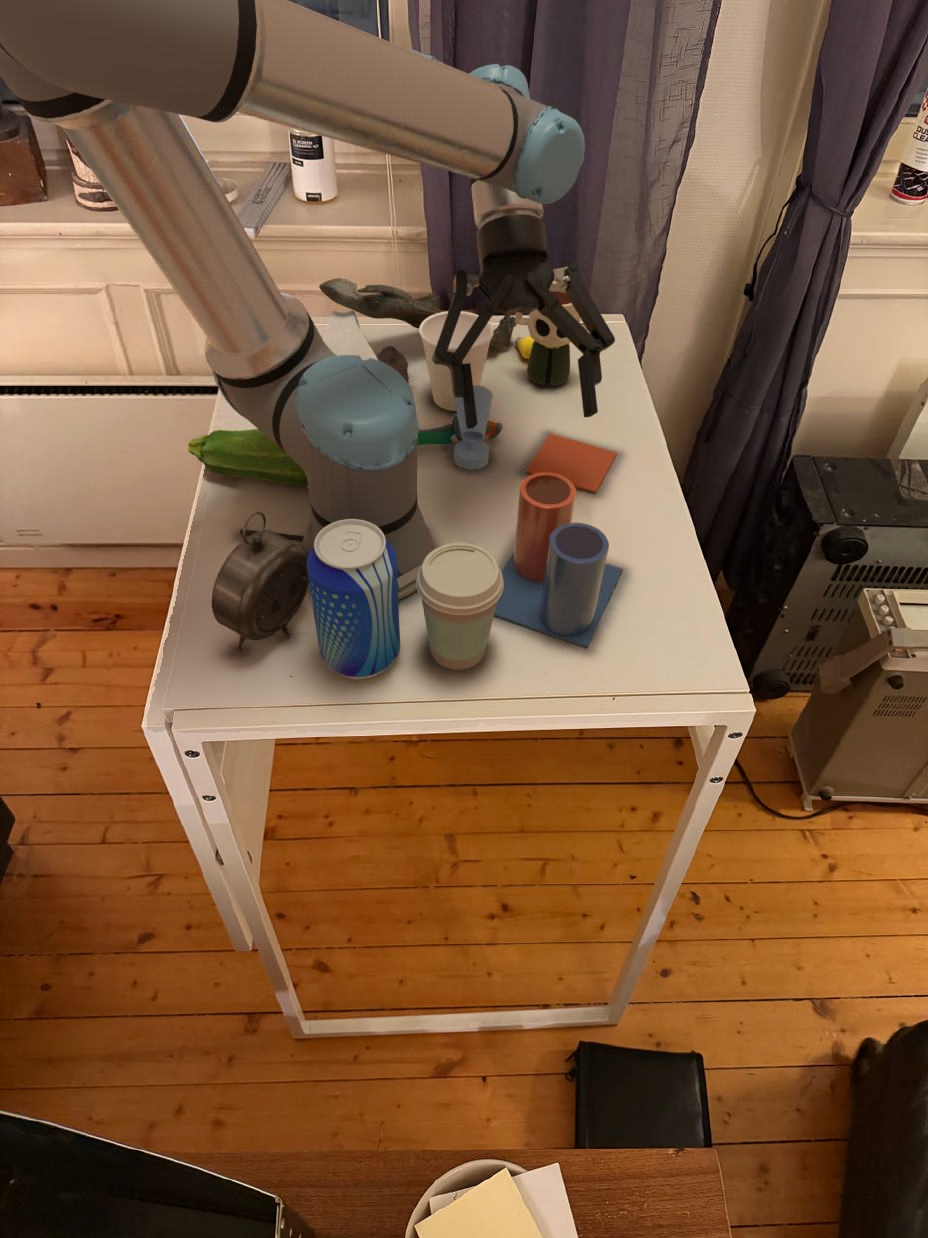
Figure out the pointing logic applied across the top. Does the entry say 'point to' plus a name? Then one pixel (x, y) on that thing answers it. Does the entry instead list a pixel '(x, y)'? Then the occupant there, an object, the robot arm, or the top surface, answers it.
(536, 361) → the character mug
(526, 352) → the light bulb
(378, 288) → the statue
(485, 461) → the spotlight
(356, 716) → the top surface
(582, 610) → the blue tumbler
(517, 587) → the blue mat
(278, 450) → the vegetable
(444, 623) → the coffee cup
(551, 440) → the terracotta mat
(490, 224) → the robot arm
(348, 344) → the spoon rest
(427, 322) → the cup
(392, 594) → the beer can
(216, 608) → the alarm clock
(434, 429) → the knife
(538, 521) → the terracotta tumbler
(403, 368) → the stone
